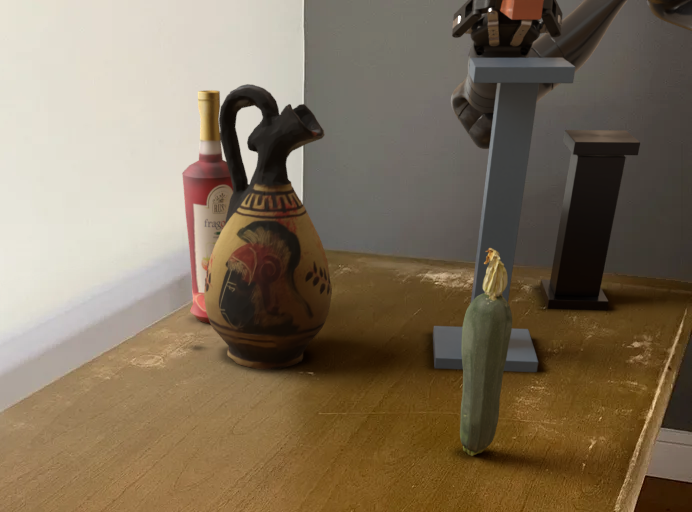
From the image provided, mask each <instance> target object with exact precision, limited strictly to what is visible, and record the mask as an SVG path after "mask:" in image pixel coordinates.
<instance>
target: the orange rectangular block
mask: <svg viewBox="0 0 692 512" xmlns="http://www.w3.org/2000/svg"><path fill="white" fill-rule="evenodd" d="M543 1H544V0H502V4H501V8H500V9H499V10H500V11H501V12H502V13H504V14H505V15H506V16H508V17H509V18H510V19H512V20H539V21H541V20H542V18H541V16H542V9H543Z"/></svg>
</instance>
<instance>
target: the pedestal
mask: <svg viewBox="0 0 692 512" xmlns="http://www.w3.org/2000/svg"><path fill="white" fill-rule="evenodd" d="M563 133H564V134H563V139H562V142H563V144H565V146H566V147H567V149H568V150H569V151H570V157H569V164H568V172H567V177H566V182H565V187H564V196H563V200H562V207H561V212H560V219H559V223H558V224H559V225H558V231H557V237H556V243H555V249H554V256H553V260H552V261H553V262H552V267H551V273H550V279H543V278H542V279H540V282H539V283H540V285H539V290H540V293H541V296H542V298H543V301H544V304H545V307H546V309H548V310H570V311H572V310H573V311H603V312H604V311H605V312H607V311H608V306H609V300H608V298H607V296H606V294H605V292H604V291H603V289H602V282H603V276H604V272H605V266H606V261H607V256H608V251H609V246H610V240H611V237H612V230H613V225H614V220H615V216H616V210H617V204H618V198H619V196H620V195H619V194H620V189H621V184H622V180H623V174H624V170H625V165H626V164H625V163H626V158H627V157H626V156H638V155H639V153H640V152H639V151H640V146H641V142H640V141H639V140H638V139H637V138H635V137H634V136H633V135H632V134H631V133H629V132H628V130H625V129H624V130H623V129H621V130H617V129H615V130H613V129H612V130H611V129H565V130H564V132H563Z"/></svg>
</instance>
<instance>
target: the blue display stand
mask: <svg viewBox="0 0 692 512" xmlns="http://www.w3.org/2000/svg"><path fill="white" fill-rule="evenodd" d="M575 68H576V67H575V66H574V65H572V64H571V63H569V62H568V61H567V60H565V59H564V58H470V66H469V74H470V76H471V78H472V81H473V83H497V89H496V98H495V106H494V114H493V122H492V131H491V139H490V147H489V149H488V156H487V165H486V174H485V180H484V190H483V198H482V205H481V213H480V214H481V215H480V222H479V232H478V238H477V248H476V256H475V264H474V272H473V280H472V290H471V295H470V296H471V297H470V303H471V302H472V301H473V300H474V299H475V298H476V297H477V296H479V295H481V294H483V293H485V292H484V290H483V281H484V278H485V275H486V270H487V268H488V265H489V263H490V261H489V262H488V263H487V264H484V263H485V262H486V257H487V256H488V253H489V252H485V251H488V249H489V248H492V249H494V250H496V251H497V252H498V253H499V254H500V255H499V257H500V261H501V262H502V263H503V264H504V267H505V269H506V272H507V286H506V288H505V290H504V291H503V292H502V296H503V298H504V299H505V300H506V301H507V302H508V303H509V298H510V291H511V284H512V278H513V277H512V276H513V269H514V262H515V255H516V248H517V242H518V234H519V227H520V220H521V215H522V214H521V213H522V206H523V201H524V200H523V199H524V193H525V187H526V179H527V171H528V166H529V165H528V164H529V159H530V158H529V157H530V151H531V144H532V136H533V130H534V123H535V115H536V108H537V103H538V102H537V95H538V88H539V83H561V84H574V81H575V80H574V79H575V74H576V72H575ZM536 102H537V103H536ZM489 260H490V259H489ZM462 328H463V326H452V325H451V326H447V325H433V330H432V347H433V364H434V366H433V368H434V369H443V370H444V369H445V370H446V369H447V370H463V364H462V353H461V349H462ZM538 366H539V360H538V356H537V353H536V349H535V347H534V343H533V339H532V337H531V332H530V331H529V329H528V328H512V330H511V336H510V341H509V345H508V352H507V358H506V362H505V366H504V371H503V372H519V373H520V372H522V373H537V372H538Z"/></svg>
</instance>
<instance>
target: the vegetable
mask: <svg viewBox="0 0 692 512" xmlns="http://www.w3.org/2000/svg"><path fill="white" fill-rule="evenodd" d="M485 252H489V253H488V256H487V257H486V262H485V263H484V264H487V263H488V262H489V261H490V263H489V265H488V268H487V270H486V275H485V278H484V281H483V290H484V292H485V293H483V294H481V295H479V296H477V297H476V298H475V299H474V300H473V301H472V302H471V301H470V304H469V305H468V306H467V309H466V311H465V314H464V318H463V321H462V327H463V328H462V349H461V353H462V364H463V369H462V372H463V373H462V395H461V404H460V422H459V423H460V425H459V438H460V443H461V445H462V450H463V452H464V453H467V455H469V456H470V457H474V456H475V455H477V454H482V453H483V452H484V451H485V450H486V449H487V448H488V447H489V446H490V445H491V444H492V442H493V440H494V438H495V435H496V431H497V427H498V423H499V417H500V404H501V403H500V402H501V401H500V400H501V391H502V383H503V376H504V372H505V371H504V366H505V362H506V358H507V352H508V345H509V341H510V336H511V330H512V329H513V314H512V309H511V307H510V304H509V301H508V302H507V301H506V300H505V299H504V298H503V296H502V292H503V291H504V290H505V288H506V286H507V272H506V269H505V267H504V264H503V263H502V262H501V261H500V257H499V255H500V254H499V253H498V252H497V251H496V250H494V249H492V248H489V249H488V251H485ZM489 259H490V260H489Z"/></svg>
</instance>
